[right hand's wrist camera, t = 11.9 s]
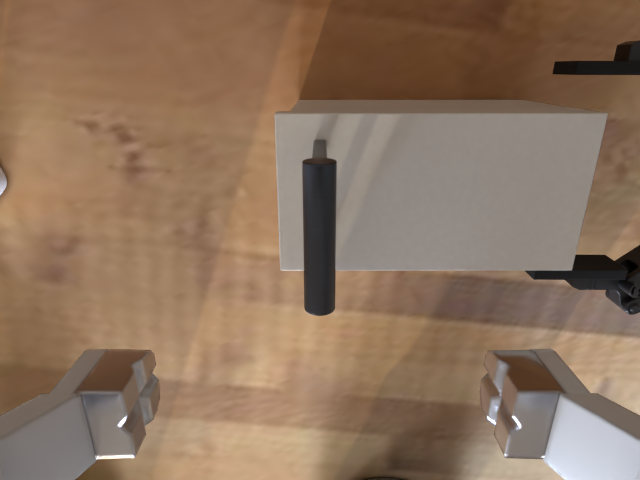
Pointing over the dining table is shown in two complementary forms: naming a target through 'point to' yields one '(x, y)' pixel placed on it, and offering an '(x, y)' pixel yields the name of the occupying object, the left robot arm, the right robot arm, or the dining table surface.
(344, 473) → the dining table surface
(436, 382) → the dining table surface
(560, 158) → the lid
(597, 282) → the left robot arm
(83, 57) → the dining table surface
